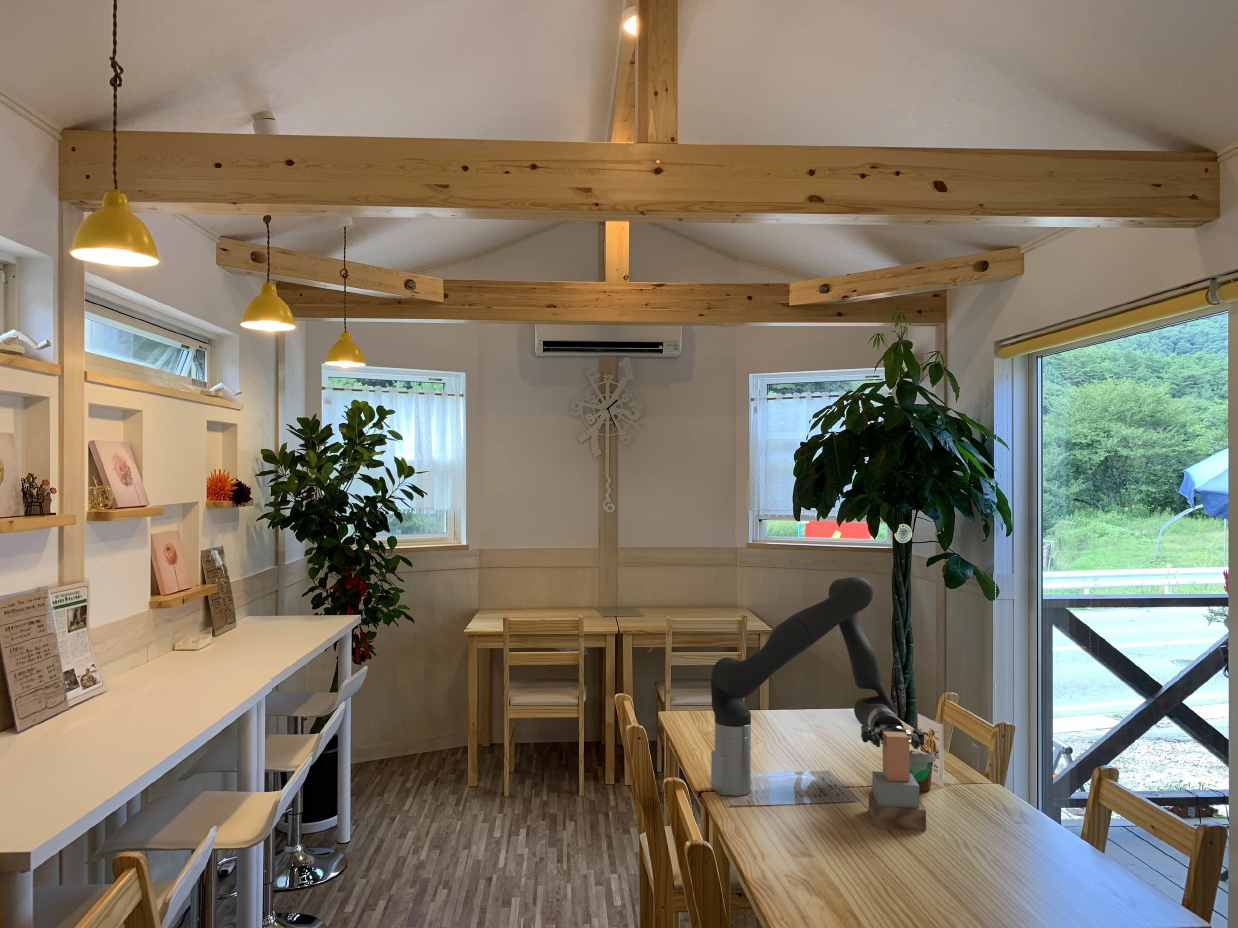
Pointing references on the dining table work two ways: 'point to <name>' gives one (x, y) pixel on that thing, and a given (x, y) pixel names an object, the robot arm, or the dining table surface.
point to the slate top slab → (895, 791)
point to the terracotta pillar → (896, 756)
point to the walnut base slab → (897, 816)
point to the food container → (922, 769)
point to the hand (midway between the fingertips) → (897, 743)
